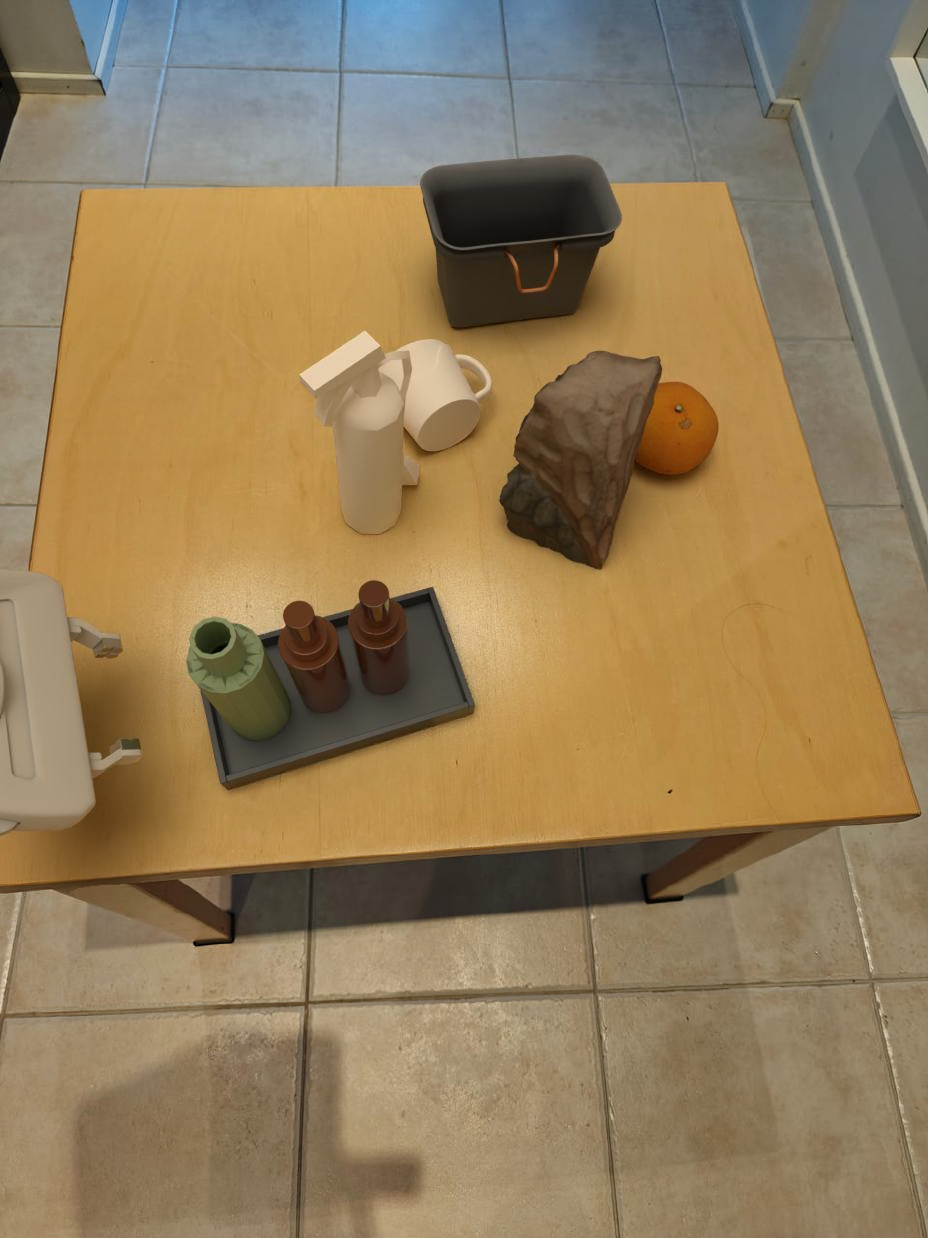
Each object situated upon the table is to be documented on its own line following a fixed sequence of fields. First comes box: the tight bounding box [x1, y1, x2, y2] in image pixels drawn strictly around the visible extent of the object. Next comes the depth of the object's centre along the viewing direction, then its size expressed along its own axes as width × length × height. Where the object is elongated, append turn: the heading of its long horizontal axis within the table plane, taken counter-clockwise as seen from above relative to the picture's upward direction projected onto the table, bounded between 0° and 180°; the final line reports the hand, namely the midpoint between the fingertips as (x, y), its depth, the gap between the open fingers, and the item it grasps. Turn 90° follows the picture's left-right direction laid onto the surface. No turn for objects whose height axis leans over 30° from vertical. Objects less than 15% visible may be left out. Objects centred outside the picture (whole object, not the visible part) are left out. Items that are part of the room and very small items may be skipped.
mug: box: [378, 338, 493, 452], centre depth 88 cm, size 12×9×8 cm
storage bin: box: [419, 154, 623, 329], centre depth 93 cm, size 21×16×14 cm
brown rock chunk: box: [498, 350, 663, 570], centre depth 78 cm, size 13×13×20 cm
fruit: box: [634, 381, 720, 476], centre depth 87 cm, size 10×10×8 cm
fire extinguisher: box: [298, 330, 421, 535], centre depth 75 cm, size 7×12×25 cm, turn 129°
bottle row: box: [278, 579, 410, 713], centre depth 69 cm, size 11×5×18 cm, turn 109°
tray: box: [199, 586, 476, 791], centre depth 76 cm, size 24×13×3 cm, turn 109°
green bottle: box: [185, 616, 291, 741], centre depth 67 cm, size 6×6×18 cm
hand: (128, 697), depth 64 cm, fingers open, 8 cm apart
